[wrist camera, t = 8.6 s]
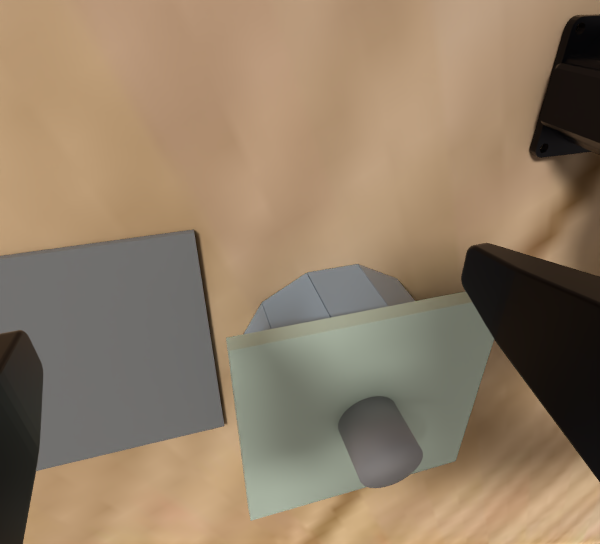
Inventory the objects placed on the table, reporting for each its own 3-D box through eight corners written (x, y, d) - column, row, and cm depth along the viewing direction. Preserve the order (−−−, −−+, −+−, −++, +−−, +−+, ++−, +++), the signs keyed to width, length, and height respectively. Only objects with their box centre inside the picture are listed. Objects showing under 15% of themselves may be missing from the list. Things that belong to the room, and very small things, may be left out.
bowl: (423, 253, 26) (474, 304, 22) (400, 385, 32) (436, 444, 28) (232, 285, 23) (250, 350, 19) (247, 421, 29) (263, 492, 25)
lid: (497, 285, 22) (551, 333, 19) (448, 450, 29) (482, 503, 26) (226, 337, 19) (241, 405, 16) (248, 506, 26) (261, 574, 23)
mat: (193, 229, 21) (194, 232, 21) (223, 422, 29) (224, 426, 29) (-166, 278, 18) (-170, 283, 18) (-22, 480, 26) (-24, 485, 25)
